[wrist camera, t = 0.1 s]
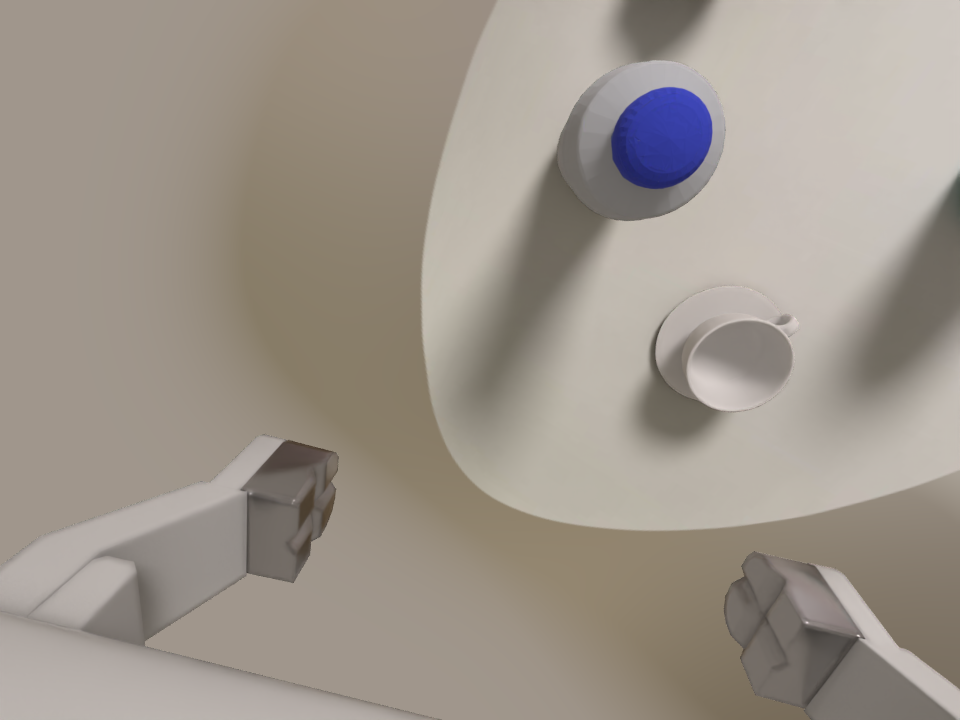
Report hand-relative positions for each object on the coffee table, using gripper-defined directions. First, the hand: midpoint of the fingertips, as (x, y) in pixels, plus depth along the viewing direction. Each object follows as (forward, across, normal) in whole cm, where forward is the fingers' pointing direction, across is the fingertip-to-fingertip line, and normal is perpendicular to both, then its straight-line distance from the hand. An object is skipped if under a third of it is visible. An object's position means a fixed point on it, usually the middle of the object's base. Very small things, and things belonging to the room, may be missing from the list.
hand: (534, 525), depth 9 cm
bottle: (+31, -3, -8) cm, 32 cm away
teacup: (+31, -16, +4) cm, 35 cm away
